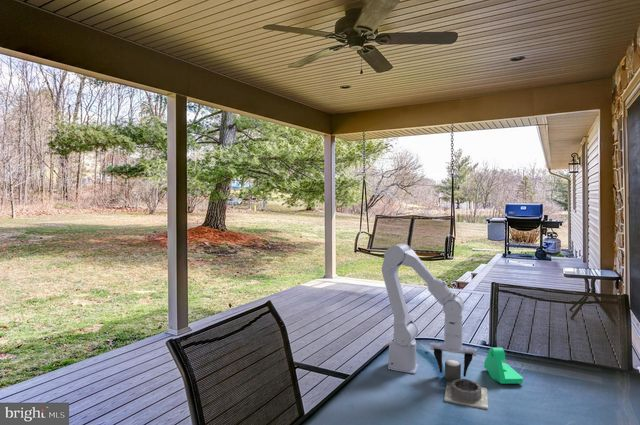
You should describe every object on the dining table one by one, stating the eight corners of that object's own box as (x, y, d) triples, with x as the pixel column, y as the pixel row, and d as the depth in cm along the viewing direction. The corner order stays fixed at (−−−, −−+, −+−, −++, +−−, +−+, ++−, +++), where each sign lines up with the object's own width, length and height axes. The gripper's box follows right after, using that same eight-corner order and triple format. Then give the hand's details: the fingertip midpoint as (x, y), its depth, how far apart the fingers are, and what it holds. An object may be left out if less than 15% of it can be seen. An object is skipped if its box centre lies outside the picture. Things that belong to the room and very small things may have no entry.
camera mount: (524, 386, 124) (524, 355, 124) (500, 386, 124) (501, 355, 124) (505, 370, 136) (506, 341, 136) (484, 370, 136) (484, 341, 136)
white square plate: (444, 401, 115) (444, 391, 115) (446, 383, 126) (447, 373, 126) (488, 409, 111) (488, 398, 111) (487, 390, 122) (487, 380, 122)
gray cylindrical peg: (444, 380, 128) (444, 364, 128) (445, 373, 133) (445, 358, 133) (460, 382, 127) (460, 367, 126) (460, 376, 131) (461, 361, 131)
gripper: (429, 334, 128) (429, 374, 129) (476, 340, 123) (476, 382, 123) (431, 327, 135) (431, 366, 135) (476, 333, 129) (476, 373, 130)
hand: (452, 373), depth 130 cm, fingers open, 7 cm apart
